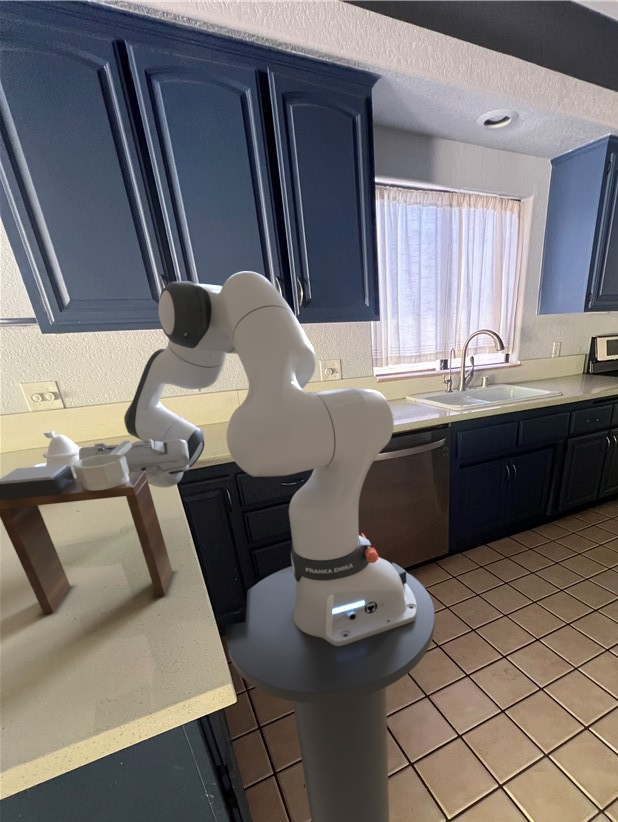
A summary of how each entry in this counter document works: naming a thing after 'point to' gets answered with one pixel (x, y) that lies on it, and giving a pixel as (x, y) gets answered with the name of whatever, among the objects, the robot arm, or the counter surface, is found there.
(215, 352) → the robot arm
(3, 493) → the kitchen scale
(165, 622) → the counter surface
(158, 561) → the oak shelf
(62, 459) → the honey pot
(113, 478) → the scoop bowl
